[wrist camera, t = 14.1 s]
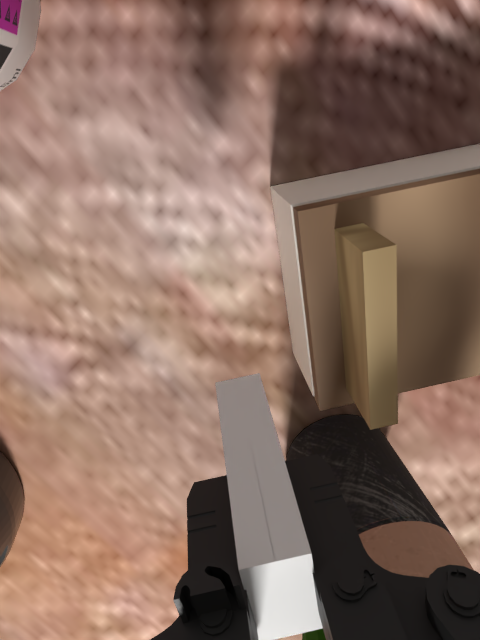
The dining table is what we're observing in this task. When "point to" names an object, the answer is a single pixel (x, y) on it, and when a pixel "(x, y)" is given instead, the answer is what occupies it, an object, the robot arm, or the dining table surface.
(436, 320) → the lid
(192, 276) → the dining table surface
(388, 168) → the keepsake box
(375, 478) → the travel mug
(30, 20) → the supplement can
